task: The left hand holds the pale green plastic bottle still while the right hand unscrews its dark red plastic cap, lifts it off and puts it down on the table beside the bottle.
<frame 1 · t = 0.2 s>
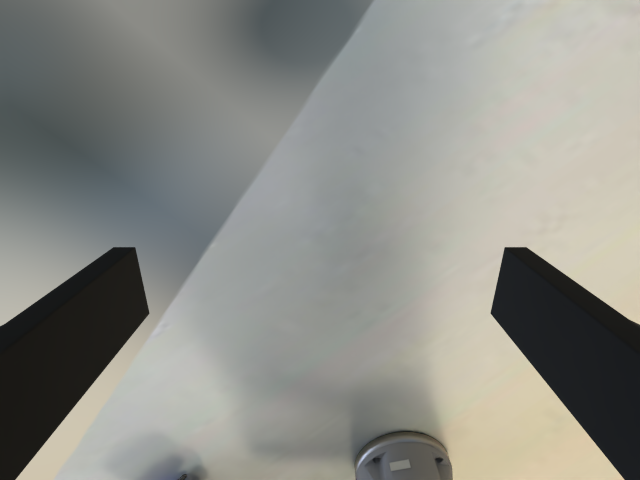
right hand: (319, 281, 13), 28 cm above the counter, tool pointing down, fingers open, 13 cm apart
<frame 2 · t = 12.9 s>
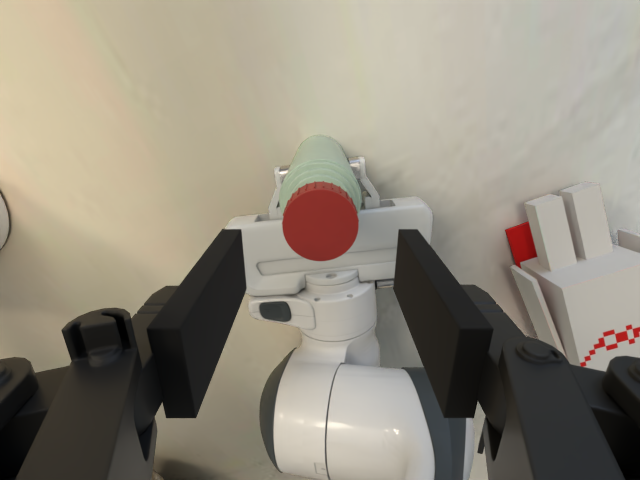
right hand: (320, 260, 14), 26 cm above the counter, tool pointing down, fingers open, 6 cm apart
left hand: (318, 162, 32), fingers closed on bottle, 5 cm apart
toy: (553, 292, 45), on the counter
bottle: (320, 160, 38), on the counter, touching left hand
cap: (320, 225, 18), point 22 cm above the counter, screwed on, not yet turned
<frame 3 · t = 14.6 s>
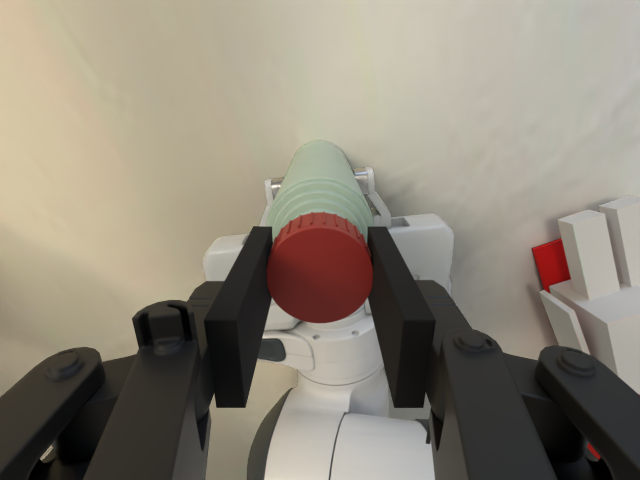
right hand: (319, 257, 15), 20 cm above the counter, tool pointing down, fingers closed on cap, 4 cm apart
toy: (583, 317, 39), on the counter
bottle: (319, 169, 33), on the counter, touching left hand
cap: (319, 274, 13), point 22 cm above the counter, screwed on, not yet turned, touching right hand
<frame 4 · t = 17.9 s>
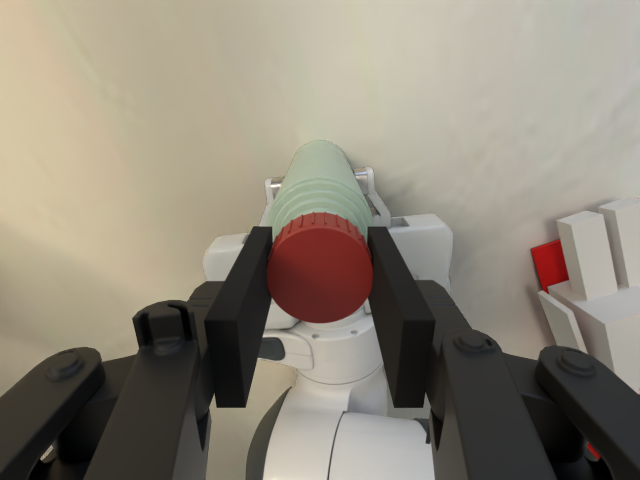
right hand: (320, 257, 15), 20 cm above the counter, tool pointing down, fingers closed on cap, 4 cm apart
toy: (581, 318, 40), on the counter
bottle: (319, 169, 33), on the counter, touching left hand
cap: (319, 274, 13), point 22 cm above the counter, turned 119° so far, risen 0.1 cm, still on its thread, touching right hand
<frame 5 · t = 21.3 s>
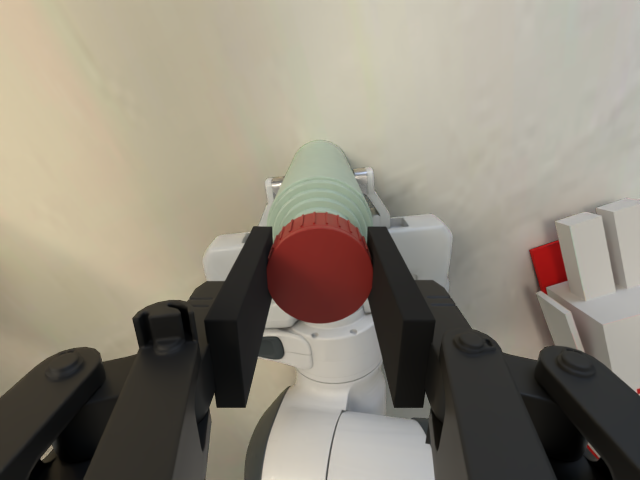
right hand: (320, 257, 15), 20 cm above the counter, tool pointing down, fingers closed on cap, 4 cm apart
toy: (580, 318, 40), on the counter
bottle: (319, 169, 33), on the counter, touching left hand
cap: (319, 274, 13), point 22 cm above the counter, turned 238° so far, risen 0.2 cm, still on its thread, touching right hand
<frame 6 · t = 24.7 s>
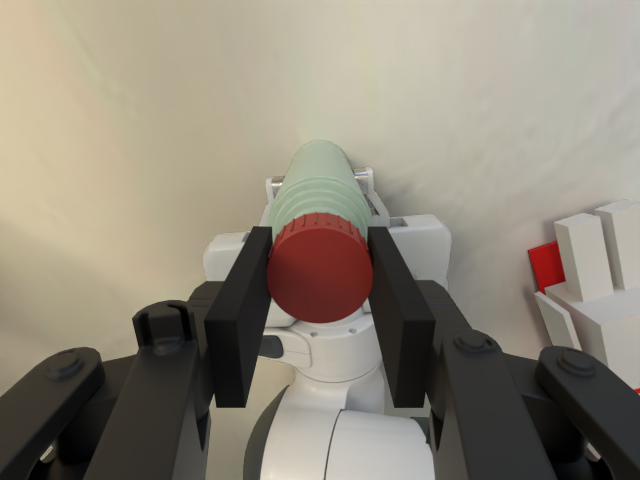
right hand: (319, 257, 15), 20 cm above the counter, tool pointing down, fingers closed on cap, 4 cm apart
toy: (578, 319, 40), on the counter
bottle: (319, 169, 34), on the counter, touching left hand
cap: (319, 274, 13), point 22 cm above the counter, turned 357° so far, risen 0.3 cm, still on its thread, touching right hand
when the right hand's fingers open (1 cm above the counter, at t = 31.9 s): cap drops 2 cm, point 2 cm above the counter.
when the left hand's fingers open (7 cm above the counter, at t = 33.3 s): bottle stays where it is, on the counter.
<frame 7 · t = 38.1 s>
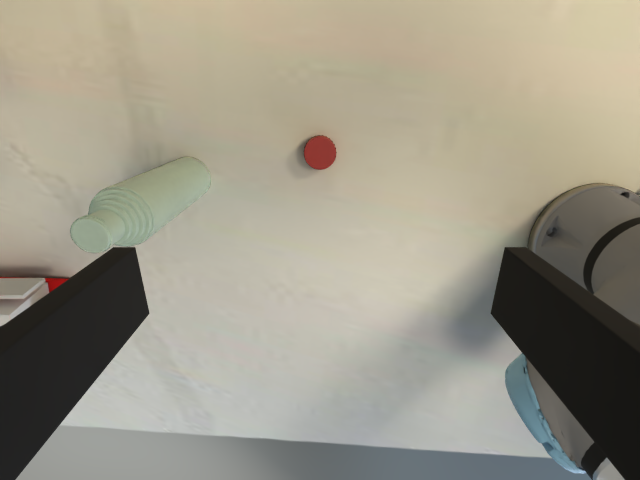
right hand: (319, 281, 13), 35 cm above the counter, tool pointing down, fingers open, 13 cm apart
toy: (12, 293, 53), on the counter
bottle: (190, 177, 46), on the counter
cap: (320, 153, 43), point 2 cm above the counter, off its thread
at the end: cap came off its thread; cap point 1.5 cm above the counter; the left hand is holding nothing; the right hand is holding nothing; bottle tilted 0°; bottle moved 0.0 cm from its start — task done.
